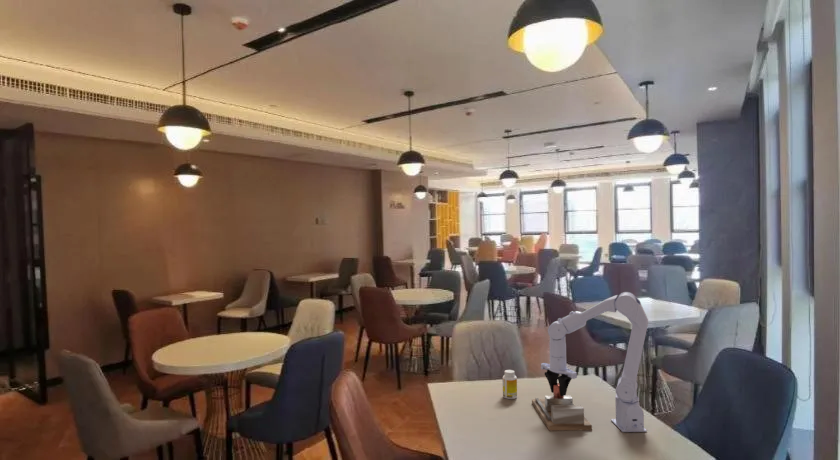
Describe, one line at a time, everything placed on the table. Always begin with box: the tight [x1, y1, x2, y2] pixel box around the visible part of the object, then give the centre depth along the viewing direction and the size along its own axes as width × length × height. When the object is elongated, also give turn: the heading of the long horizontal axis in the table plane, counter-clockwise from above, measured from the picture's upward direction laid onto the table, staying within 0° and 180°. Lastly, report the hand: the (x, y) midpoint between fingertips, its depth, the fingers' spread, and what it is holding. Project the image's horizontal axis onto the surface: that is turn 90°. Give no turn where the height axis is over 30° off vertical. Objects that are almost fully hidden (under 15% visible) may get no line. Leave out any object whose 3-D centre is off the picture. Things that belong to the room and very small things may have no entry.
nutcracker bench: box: [531, 397, 593, 431], centre depth 166 cm, size 24×14×6 cm, turn 0°
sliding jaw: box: [544, 382, 574, 411], centre depth 167 cm, size 4×9×9 cm, turn 90°
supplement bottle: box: [502, 369, 518, 400], centre depth 185 cm, size 6×6×10 cm
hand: (558, 393), depth 167 cm, fingers closed on sliding jaw, 3 cm apart
